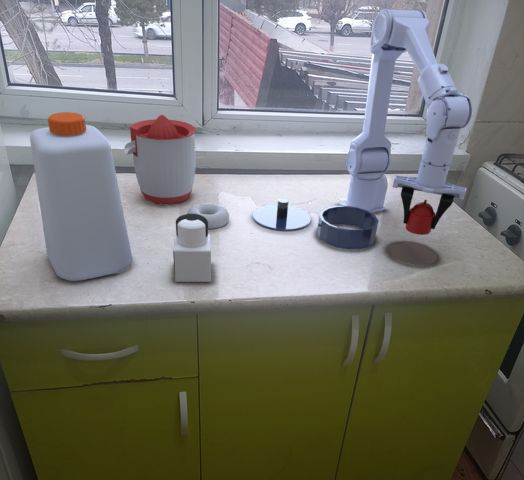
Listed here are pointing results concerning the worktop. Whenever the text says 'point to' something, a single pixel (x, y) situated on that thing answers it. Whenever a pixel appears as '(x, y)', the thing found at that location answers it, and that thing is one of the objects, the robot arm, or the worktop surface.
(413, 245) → the coaster
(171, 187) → the citrus juicer
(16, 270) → the worktop surface
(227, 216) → the donut
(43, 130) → the plastic bottle
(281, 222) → the lid
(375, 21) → the robot arm
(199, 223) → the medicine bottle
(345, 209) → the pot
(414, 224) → the red rubber stopper
